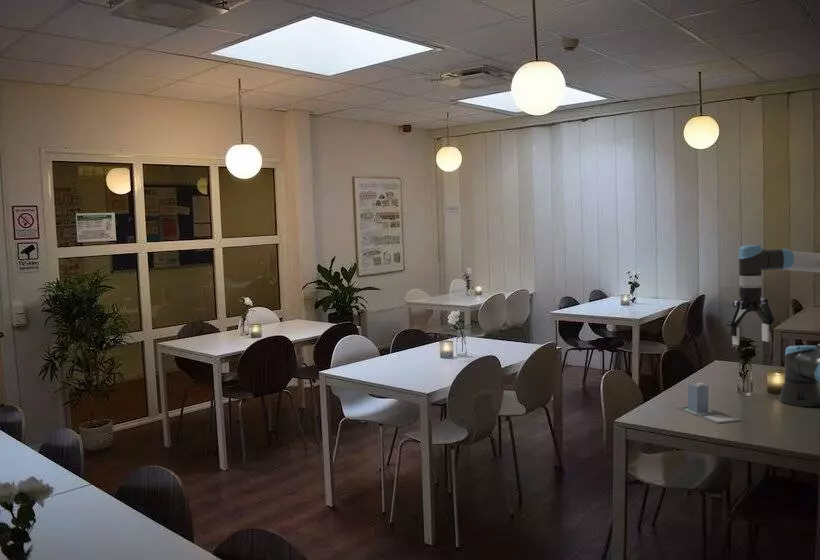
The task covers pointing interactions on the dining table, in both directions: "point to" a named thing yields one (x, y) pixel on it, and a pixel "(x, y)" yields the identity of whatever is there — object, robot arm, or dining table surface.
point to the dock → (712, 415)
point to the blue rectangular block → (698, 397)
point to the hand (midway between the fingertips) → (750, 342)
